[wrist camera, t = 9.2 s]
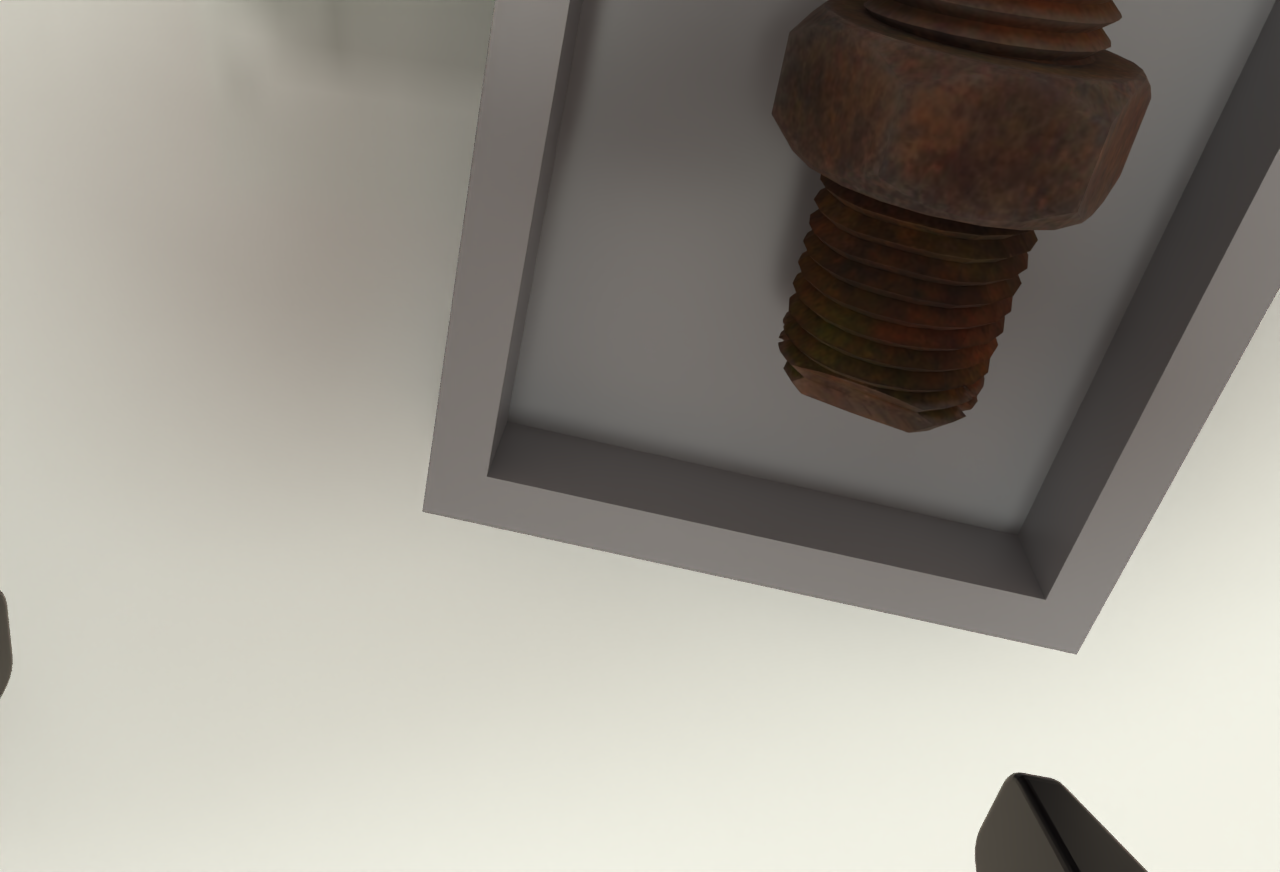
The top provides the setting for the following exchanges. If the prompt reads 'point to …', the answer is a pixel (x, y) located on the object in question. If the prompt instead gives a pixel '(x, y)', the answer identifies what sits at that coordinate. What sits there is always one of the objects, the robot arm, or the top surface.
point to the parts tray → (759, 299)
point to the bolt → (939, 184)
